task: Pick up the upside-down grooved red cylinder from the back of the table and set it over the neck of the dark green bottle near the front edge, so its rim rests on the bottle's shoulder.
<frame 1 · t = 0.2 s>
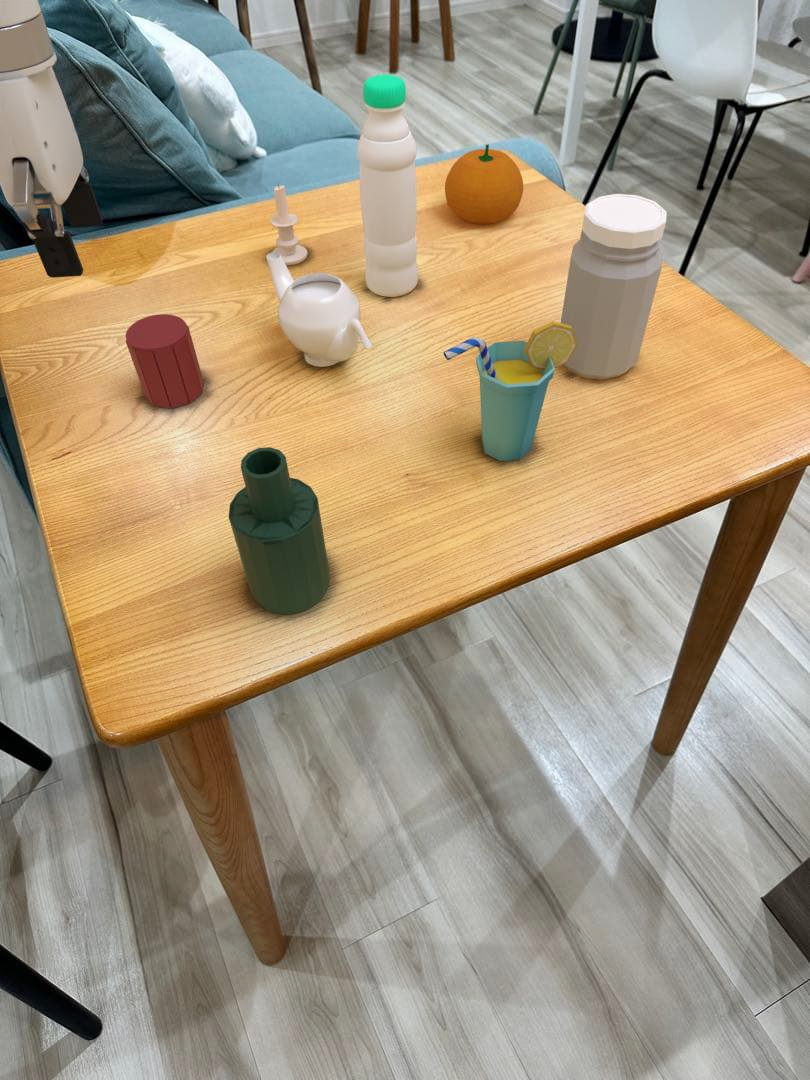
hand: (77, 249, 72), 18 cm above the table, tool pointing down, fingers open, 9 cm apart
grooved red cylinder: (175, 390, 87), on the table
fruit: (482, 215, 114), on the table
teapot: (324, 356, 91), on the table
candle: (289, 257, 107), on the table
jar: (595, 360, 89), on the table
water bottle: (392, 286, 101), on the table
green bottle: (290, 582, 68), on the table
cup: (499, 449, 79), on the table
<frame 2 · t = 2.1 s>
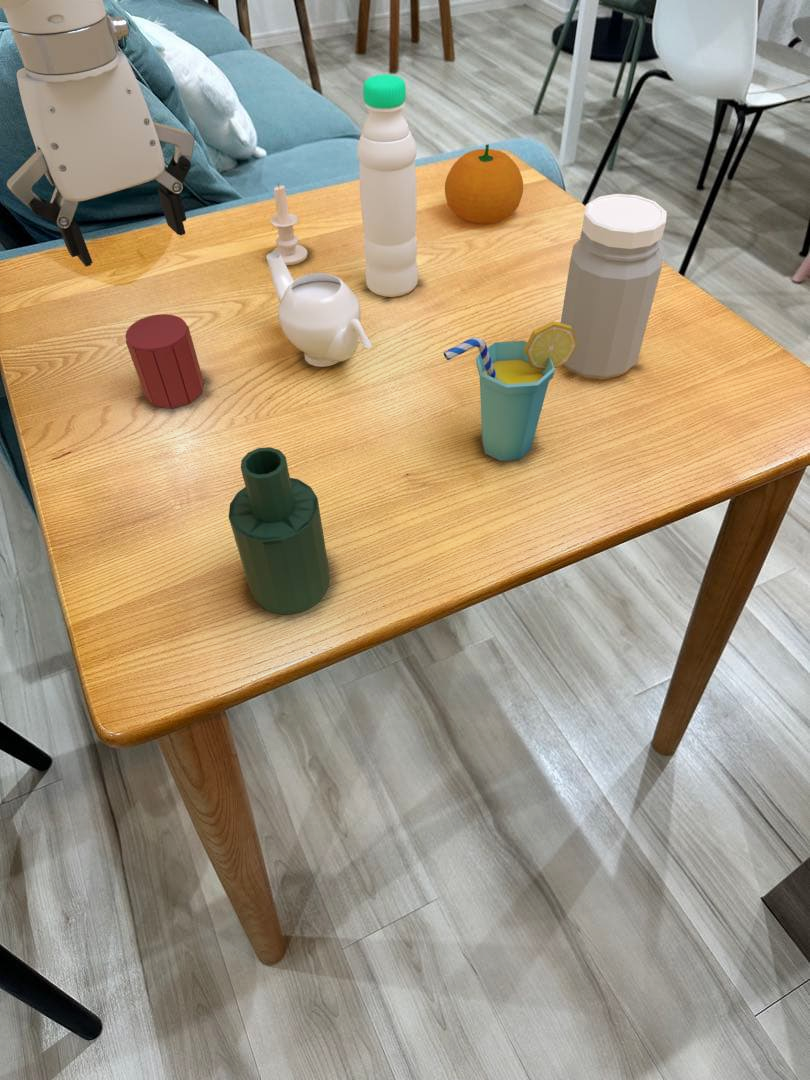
hand: (131, 244, 74), 18 cm above the table, tool pointing down, fingers open, 9 cm apart
nothing on the table moved.
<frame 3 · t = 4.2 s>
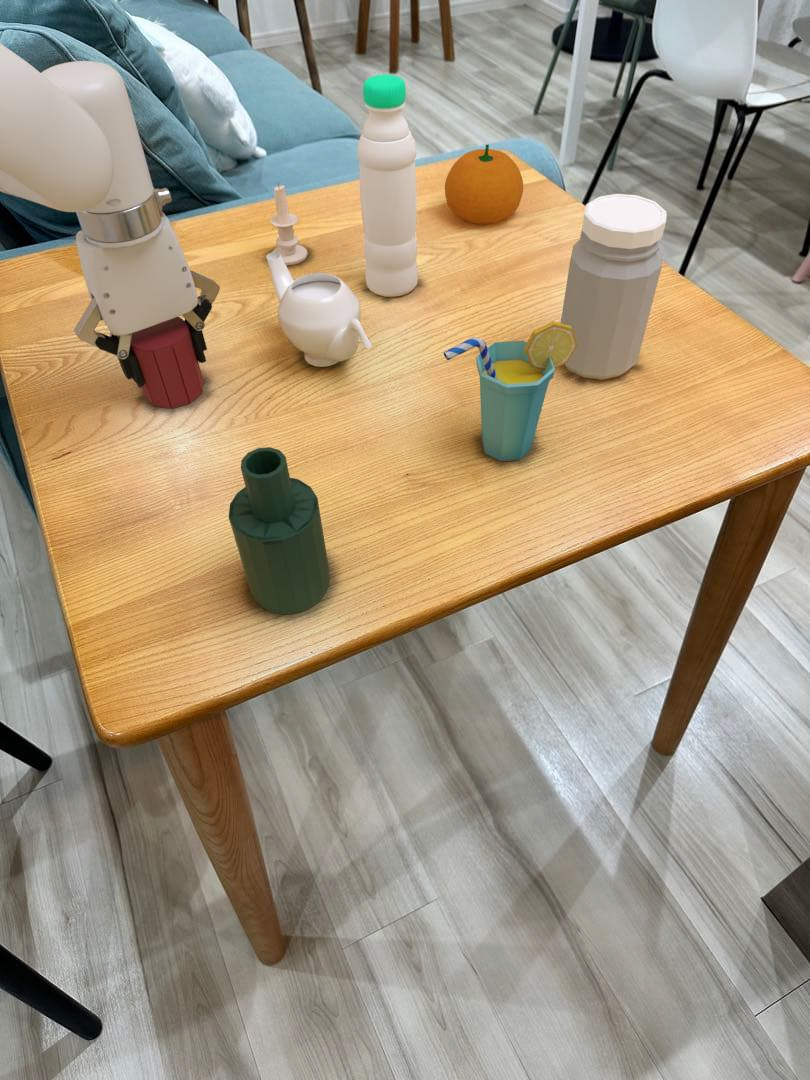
hand: (168, 367, 85), 3 cm above the table, tool pointing down, fingers closed on grooved red cylinder, 6 cm apart
grooved red cylinder: (175, 390, 87), on the table, touching gripper
everything else where it was.
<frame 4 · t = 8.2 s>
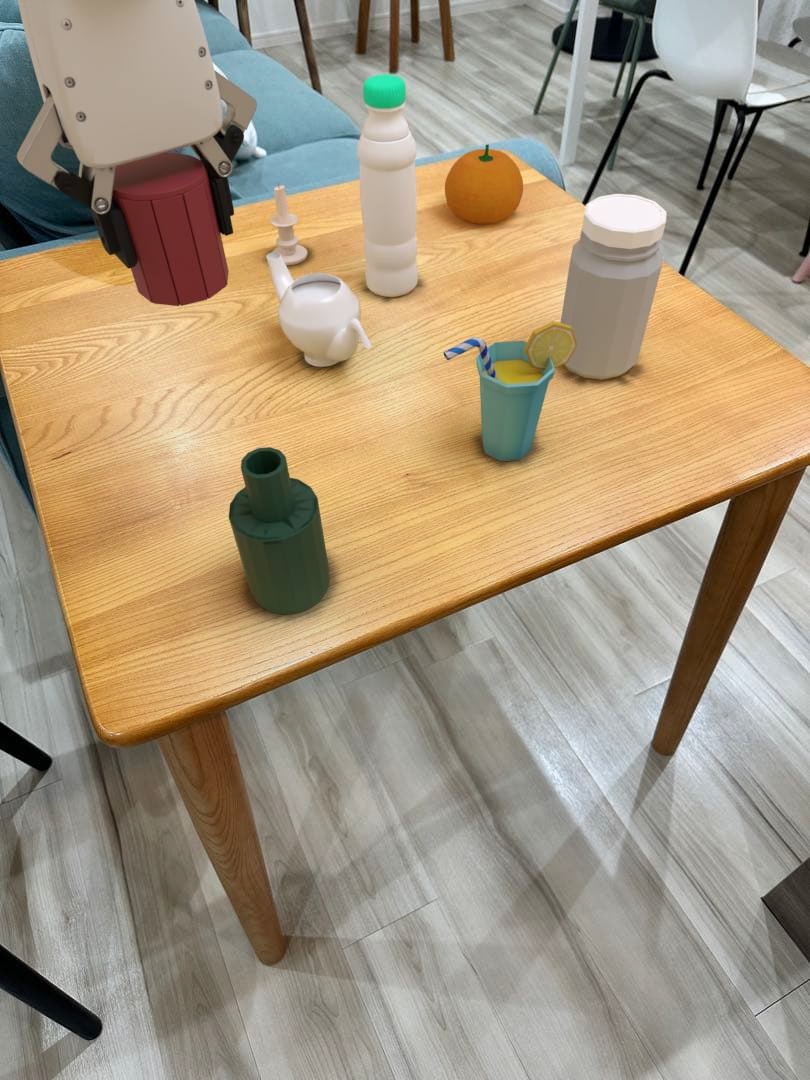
hand: (173, 241, 54), 28 cm above the table, tool pointing down, fingers closed on grooved red cylinder, 6 cm apart
grooved red cylinder: (184, 281, 56), point 24 cm above the table, touching gripper
everything else where it was.
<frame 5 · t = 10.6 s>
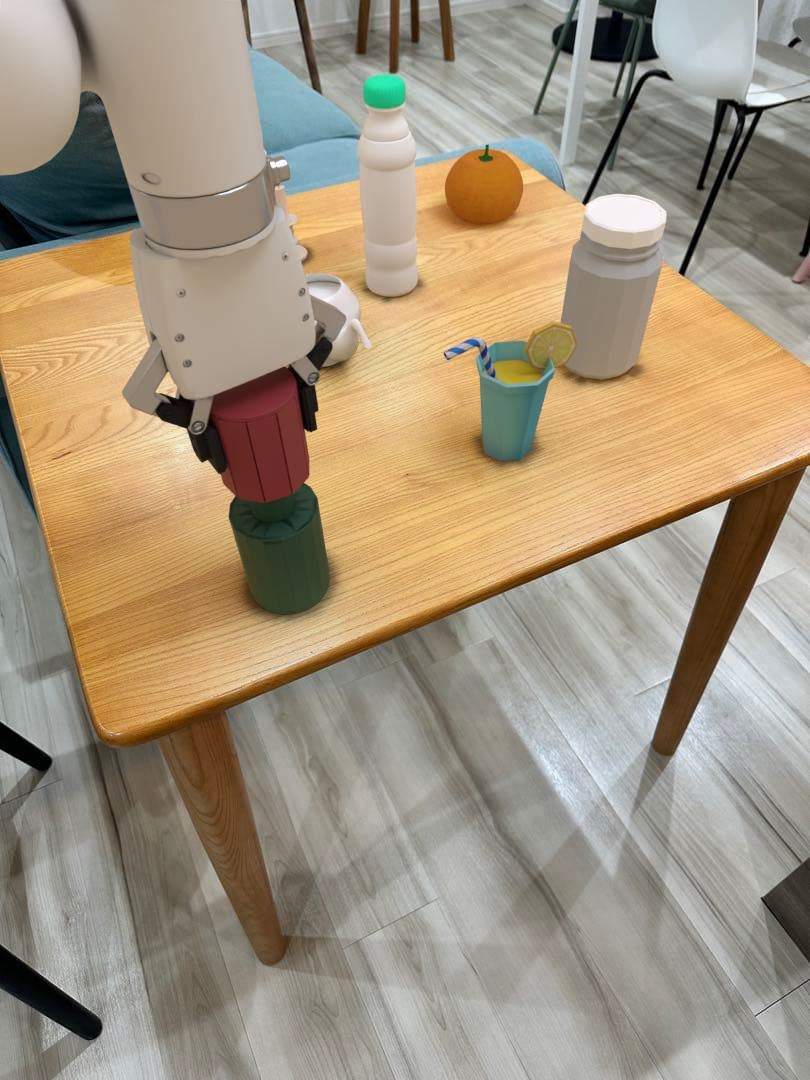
hand: (259, 440, 55), 17 cm above the table, tool pointing down, fingers closed on grooved red cylinder, 6 cm apart
grooved red cylinder: (266, 470, 57), point 14 cm above the table, touching gripper
everything else where it was.
when the fingers open (13 cm above the table, at t = 12.4 s): grooved red cylinder stays where it is, resting on green bottle.
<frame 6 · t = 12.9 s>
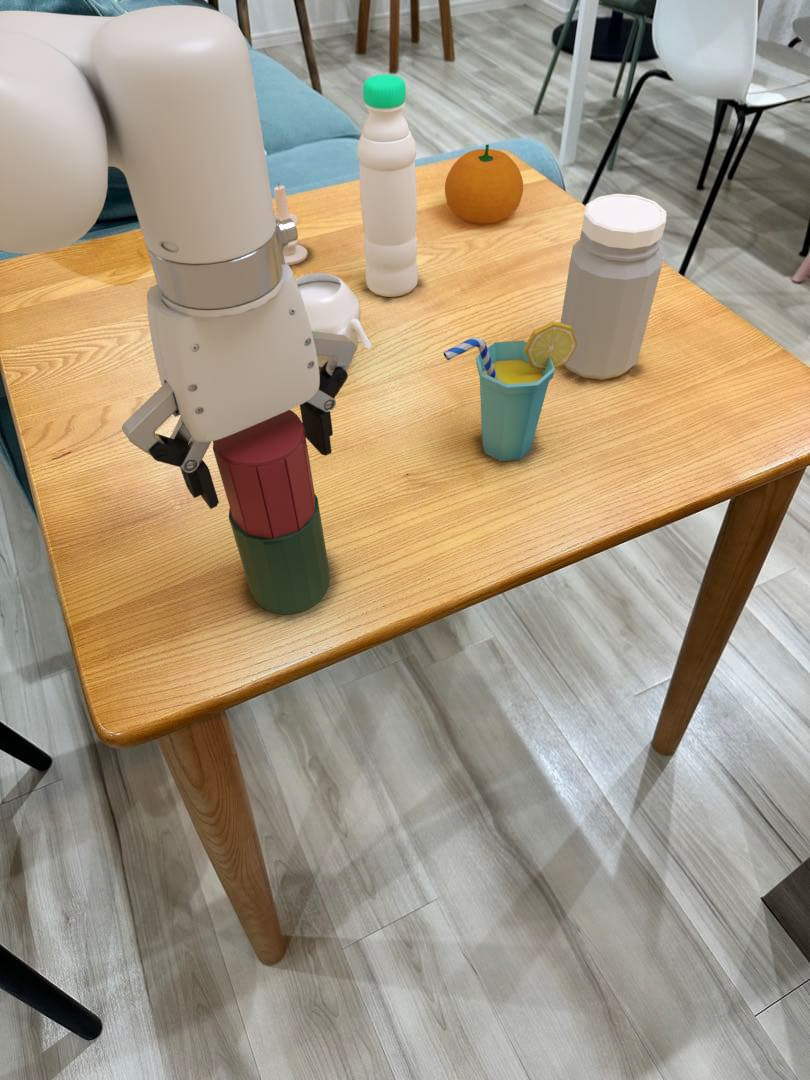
hand: (264, 470, 57), 14 cm above the table, tool pointing down, fingers open, 9 cm apart
grooved red cylinder: (274, 507, 60), point 10 cm above the table, touching green bottle
everything else where it was.
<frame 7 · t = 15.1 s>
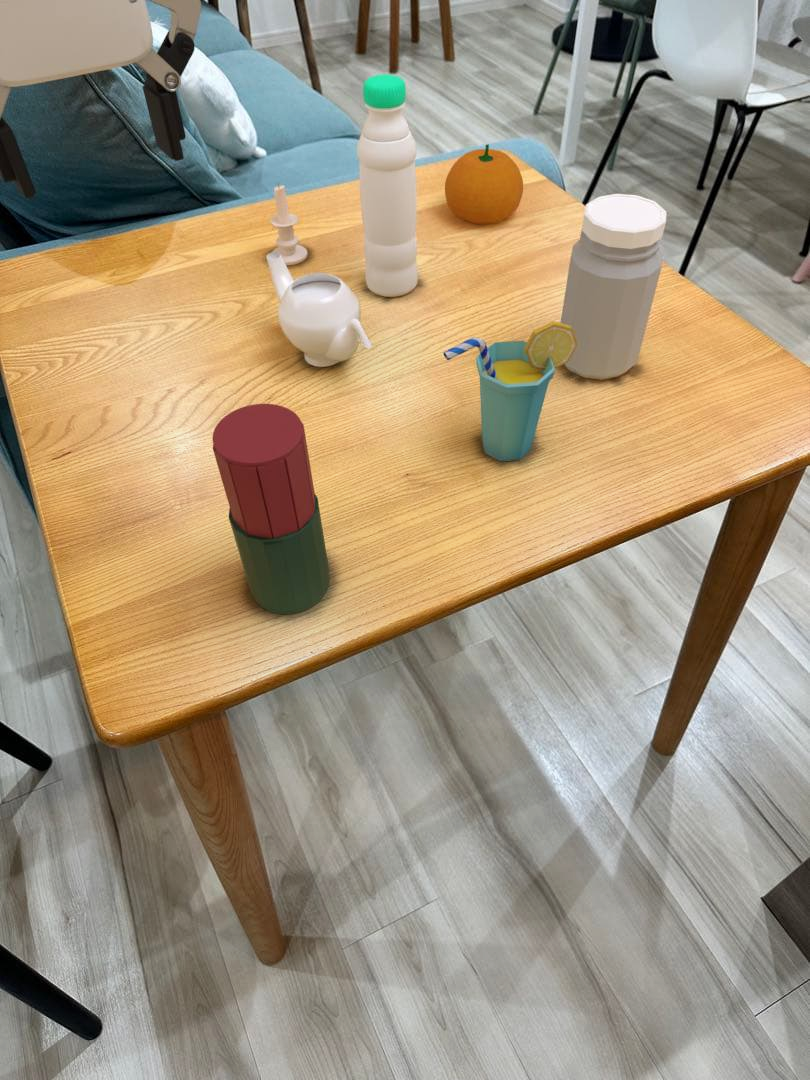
hand: (100, 171, 48), 33 cm above the table, tool pointing down, fingers open, 9 cm apart
nothing on the table moved.
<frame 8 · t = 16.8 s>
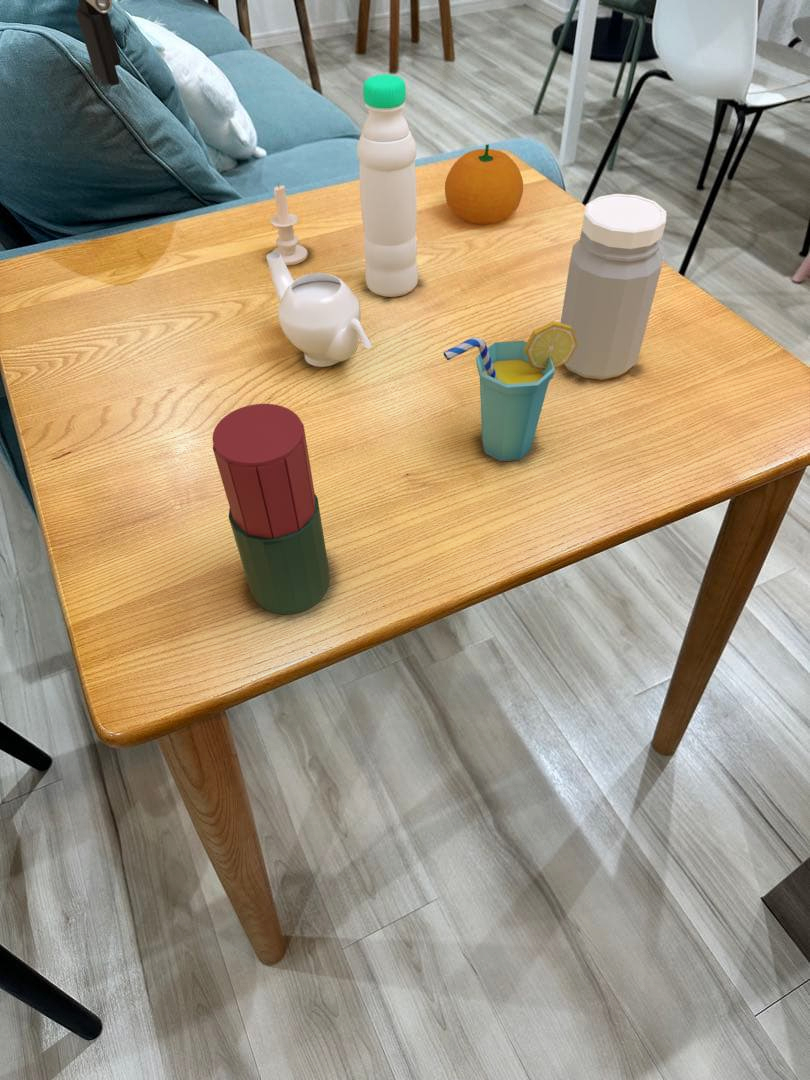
hand: (37, 95, 49), 36 cm above the table, tool pointing down, fingers open, 9 cm apart
nothing on the table moved.
at the end: grooved red cylinder 0.1 cm off-centre in the green bottle, point 10.0 cm above the green bottle's base; grooved red cylinder tilted 0°; the gripper is holding nothing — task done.
